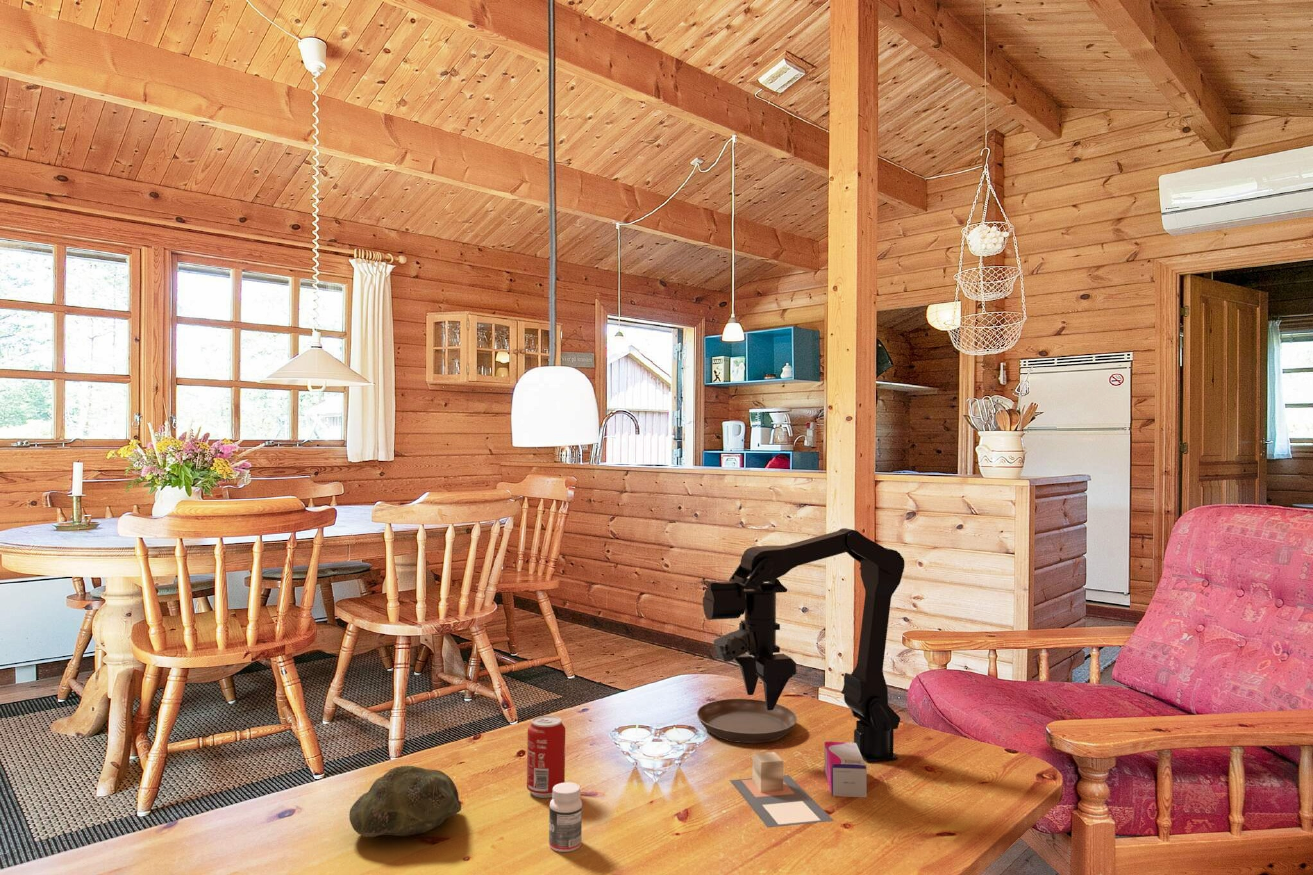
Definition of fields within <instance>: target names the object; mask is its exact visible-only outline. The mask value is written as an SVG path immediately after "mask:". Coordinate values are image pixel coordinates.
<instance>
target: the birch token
mask: <svg viewBox="0 0 1313 875" xmlns="http://www.w3.org/2000/svg"><path fill="white" fill-rule="evenodd" d="M783 776H784V760H783V759H782V758H781V757H780V756H779V755H778V754H777V753H776V752H775V751H774V752H773V751H772V752H760V753H759V752H758V753H753V754H752V777H751V778H752V783H753V784H754V785H755V787H756V788H757V789H758V790H759V791H760V792H761V793H762V792H773V791H783Z"/></svg>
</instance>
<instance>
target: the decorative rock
mask: <svg viewBox="0 0 1313 875" xmlns="http://www.w3.org/2000/svg"><path fill="white" fill-rule="evenodd" d="M461 810H462V805H461V802H460V799H459V792H458V789H457V787H456V784H455V782H454V781H453V780H452V778H451V777H450V776H449V775H448V774H446V773H445V772H444V771H442V770H438V769H427V768H423V767H420V766H414V765H401V766H397V767H393V768H392V769H390V770H388V771H387V772H386V773H384V775H382V776H381V777H378V778H377V779H376V780H374V782H373V783H372V785H371V786H370V788H369V790H368V791H367V792H365V793H363V794H362V795H361V796H359V797H358V799H357V800H355V802H354V803H353V804H352V806H351V807H350V809H349V822H350V824H351V827H352V829H353V830H354V831H355V832H356V833H357V834H358V835H360V836H363V837H366V838H374V837H378V836H382V835H383V836H396V837H397V836H400V837H407V836H412V835H414V836H418V835H421V834H423V833H426V832H428V831H431V830H433V829H434V828H437V827H438V826H440V825H441V824H443V823H444V821H445V820H447V819H448V818H450V817H452V816H454V815H456V814H459V813H460V811H461Z"/></svg>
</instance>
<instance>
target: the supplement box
mask: <svg viewBox="0 0 1313 875" xmlns="http://www.w3.org/2000/svg"><path fill="white" fill-rule="evenodd" d="M824 773H825V776H826V780H827V783H828V786H829V790H830V794H831V796H833V797H849V798H850V797H852V798H867V792H868V791H867V789H868V788H867V782H868V780H867V776H868V775H867V773H868V772H867V764H866V763H865V760H864V759H863V758H862V755H861V753H860V751H859V748H858V746H857V744H856V743H854V742H847V741H846V742H844V741H824Z"/></svg>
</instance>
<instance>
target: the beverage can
mask: <svg viewBox="0 0 1313 875" xmlns="http://www.w3.org/2000/svg"><path fill="white" fill-rule="evenodd" d="M562 721H563V720H562V718H560V717H559V716H555V715H541V716H537V717H534V718H532V719H531V724H530V725H529V726H528V728H527V738H526V740H527V743H526V744H527V747H526V788H527V790H528V791H529V792H530V793H531V795H532V796H534V797H536V798H541V799H548V798H552V793H553V787H554V786H555V785H557V784H559V783H566V782H565V780H566V779H565V778H566V774H565V773H566V769H565V768H566V726H565V725H564V724H563V723H562Z"/></svg>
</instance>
